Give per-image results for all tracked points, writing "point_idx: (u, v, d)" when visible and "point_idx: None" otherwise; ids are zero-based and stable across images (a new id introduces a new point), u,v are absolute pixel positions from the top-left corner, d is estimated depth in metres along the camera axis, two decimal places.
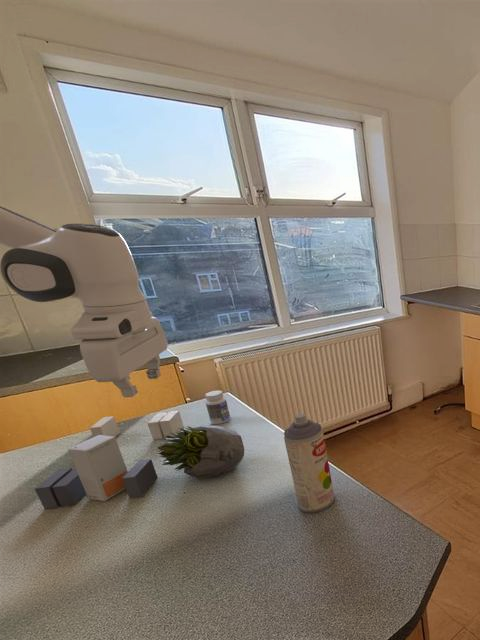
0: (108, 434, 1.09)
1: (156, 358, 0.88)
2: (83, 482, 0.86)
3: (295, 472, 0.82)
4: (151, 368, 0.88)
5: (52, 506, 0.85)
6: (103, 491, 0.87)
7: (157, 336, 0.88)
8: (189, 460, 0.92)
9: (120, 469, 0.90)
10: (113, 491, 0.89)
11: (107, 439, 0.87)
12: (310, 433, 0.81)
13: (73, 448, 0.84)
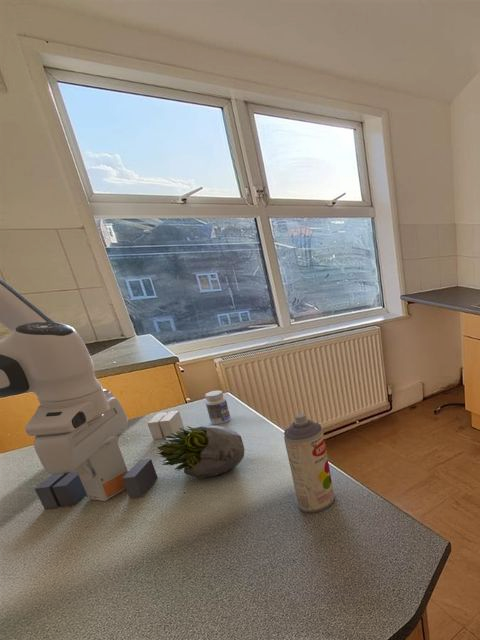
0: None
1: None
2: (83, 482, 0.86)
3: (296, 472, 0.82)
4: None
5: (52, 506, 0.85)
6: (103, 491, 0.87)
7: (116, 416, 0.91)
8: (189, 460, 0.92)
9: (120, 469, 0.90)
10: (113, 491, 0.89)
11: (107, 439, 0.87)
12: (310, 433, 0.81)
13: None
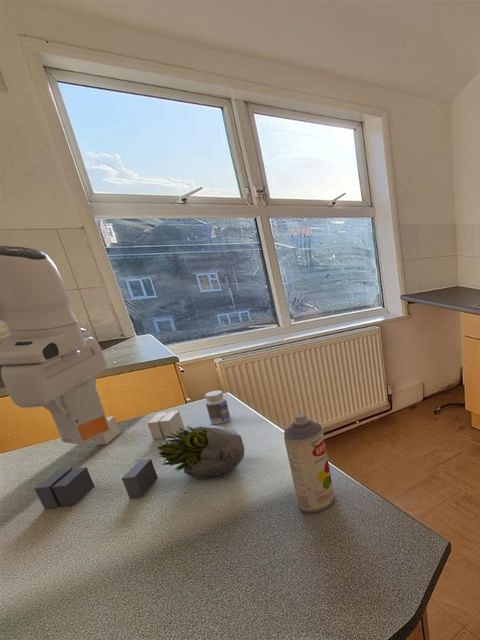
0: (108, 434, 1.09)
1: None
2: (57, 423, 0.82)
3: (296, 472, 0.82)
4: None
5: (52, 506, 0.85)
6: (78, 433, 0.82)
7: (94, 357, 0.86)
8: (189, 460, 0.92)
9: (97, 412, 0.85)
10: (89, 435, 0.84)
11: (83, 379, 0.82)
12: (310, 433, 0.81)
13: None
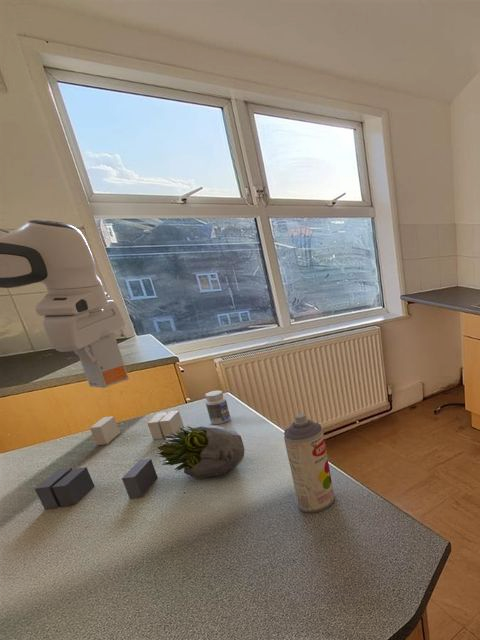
0: (108, 434, 1.09)
1: None
2: (85, 369, 0.98)
3: (296, 472, 0.82)
4: None
5: (52, 506, 0.85)
6: (103, 378, 0.99)
7: (114, 316, 1.03)
8: (189, 460, 0.92)
9: (118, 362, 1.02)
10: (111, 380, 1.01)
11: (106, 333, 0.99)
12: (310, 433, 0.81)
13: None
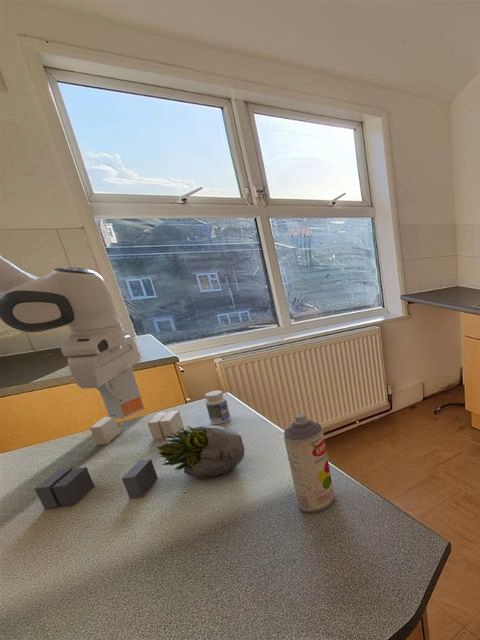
0: (108, 434, 1.09)
1: None
2: (105, 402, 1.05)
3: (296, 472, 0.82)
4: None
5: (52, 506, 0.85)
6: (121, 410, 1.06)
7: (131, 351, 1.10)
8: (189, 460, 0.92)
9: (135, 394, 1.09)
10: (129, 411, 1.08)
11: (124, 368, 1.06)
12: (310, 433, 0.81)
13: None
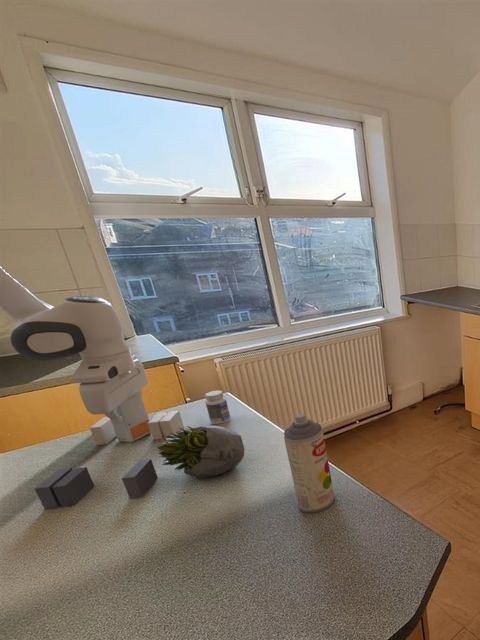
0: (108, 434, 1.09)
1: None
2: (114, 426, 1.08)
3: (296, 472, 0.82)
4: None
5: (52, 506, 0.85)
6: (130, 434, 1.08)
7: (139, 374, 1.13)
8: (189, 460, 0.92)
9: (143, 417, 1.11)
10: (138, 435, 1.10)
11: (133, 392, 1.08)
12: (310, 433, 0.81)
13: None
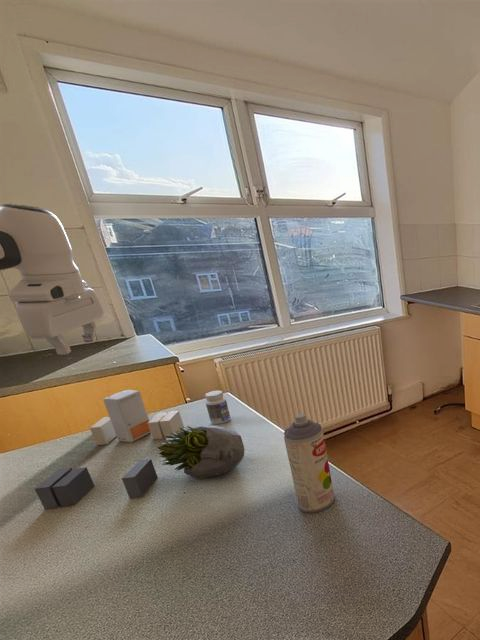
0: (108, 434, 1.09)
1: (92, 324, 1.01)
2: (114, 426, 1.08)
3: (296, 472, 0.82)
4: (87, 333, 1.01)
5: (52, 506, 0.85)
6: (130, 434, 1.08)
7: (92, 305, 1.01)
8: (189, 460, 0.92)
9: (143, 417, 1.11)
10: (138, 435, 1.10)
11: (133, 392, 1.08)
12: (310, 433, 0.81)
13: (107, 398, 1.05)
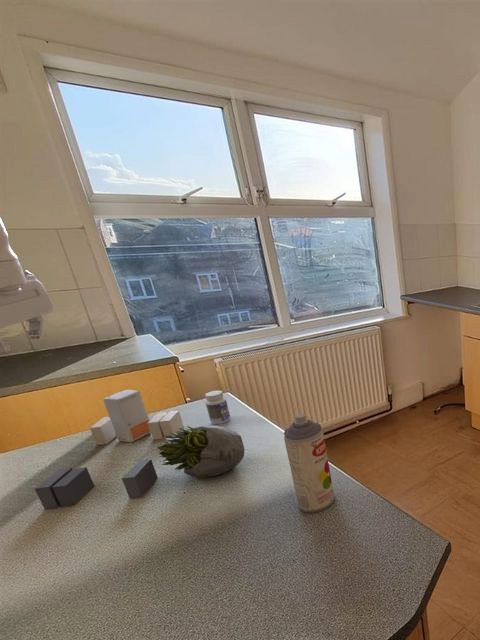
0: (108, 434, 1.09)
1: (38, 319, 0.92)
2: (114, 426, 1.08)
3: (296, 472, 0.82)
4: (33, 329, 0.92)
5: (52, 506, 0.85)
6: (130, 434, 1.08)
7: (38, 298, 0.91)
8: (189, 460, 0.92)
9: (143, 417, 1.11)
10: (138, 435, 1.10)
11: (133, 392, 1.08)
12: (310, 433, 0.81)
13: (107, 398, 1.05)
